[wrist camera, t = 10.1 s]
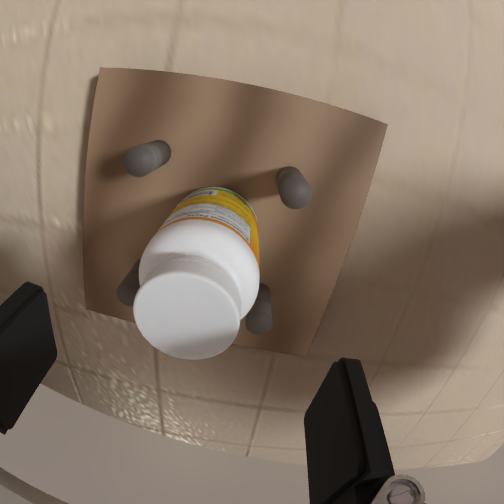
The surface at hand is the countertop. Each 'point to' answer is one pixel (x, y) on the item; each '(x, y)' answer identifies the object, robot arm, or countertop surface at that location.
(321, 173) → the peg cradle
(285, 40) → the countertop surface
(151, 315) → the supplement bottle
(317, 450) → the robot arm
